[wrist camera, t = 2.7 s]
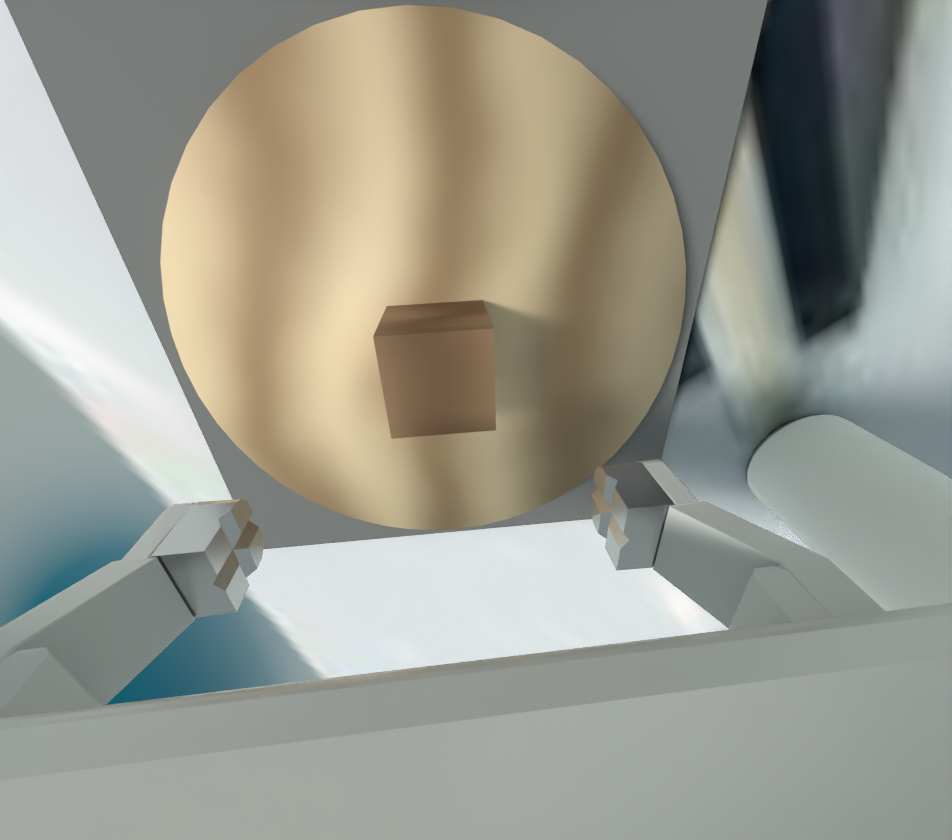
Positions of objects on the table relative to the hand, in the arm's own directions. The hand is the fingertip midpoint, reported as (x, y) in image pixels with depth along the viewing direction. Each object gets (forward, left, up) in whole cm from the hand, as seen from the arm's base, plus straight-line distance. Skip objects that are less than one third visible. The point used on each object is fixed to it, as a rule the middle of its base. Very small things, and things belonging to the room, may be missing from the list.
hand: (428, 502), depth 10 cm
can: (-21, +9, -11) cm, 26 cm away
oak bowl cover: (0, 0, -11) cm, 10 cm away
